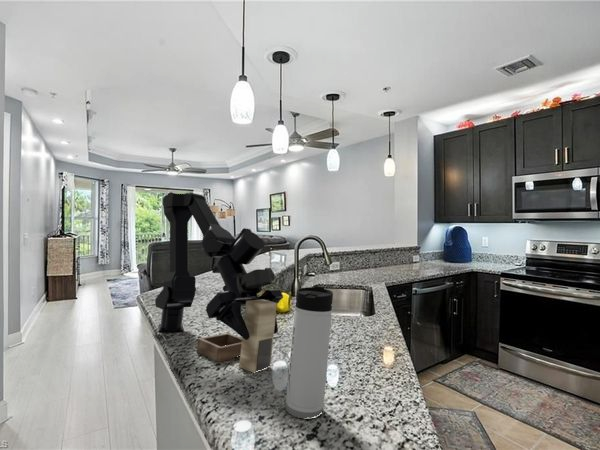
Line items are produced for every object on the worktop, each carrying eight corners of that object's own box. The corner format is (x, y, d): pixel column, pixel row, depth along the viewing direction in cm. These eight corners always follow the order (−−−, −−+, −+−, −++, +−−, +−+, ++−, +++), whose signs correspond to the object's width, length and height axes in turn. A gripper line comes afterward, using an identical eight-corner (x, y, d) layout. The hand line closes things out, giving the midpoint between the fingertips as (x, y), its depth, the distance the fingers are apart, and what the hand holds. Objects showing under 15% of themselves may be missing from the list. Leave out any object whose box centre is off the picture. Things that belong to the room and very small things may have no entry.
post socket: (196, 351, 75) (198, 338, 75) (227, 344, 82) (228, 333, 82) (218, 362, 70) (219, 348, 70) (249, 354, 77) (250, 341, 77)
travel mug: (327, 405, 55) (337, 288, 56) (317, 424, 49) (328, 292, 50) (293, 396, 57) (304, 284, 59) (279, 413, 51) (291, 287, 52)
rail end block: (239, 366, 68) (246, 300, 69) (256, 361, 72) (262, 299, 73) (254, 374, 65) (261, 304, 66) (271, 368, 69) (277, 303, 70)
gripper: (220, 253, 66) (251, 319, 58) (281, 256, 80) (312, 310, 73) (194, 286, 70) (219, 351, 63) (256, 283, 85) (283, 336, 77)
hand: (262, 335), depth 69 cm, fingers open, 8 cm apart
